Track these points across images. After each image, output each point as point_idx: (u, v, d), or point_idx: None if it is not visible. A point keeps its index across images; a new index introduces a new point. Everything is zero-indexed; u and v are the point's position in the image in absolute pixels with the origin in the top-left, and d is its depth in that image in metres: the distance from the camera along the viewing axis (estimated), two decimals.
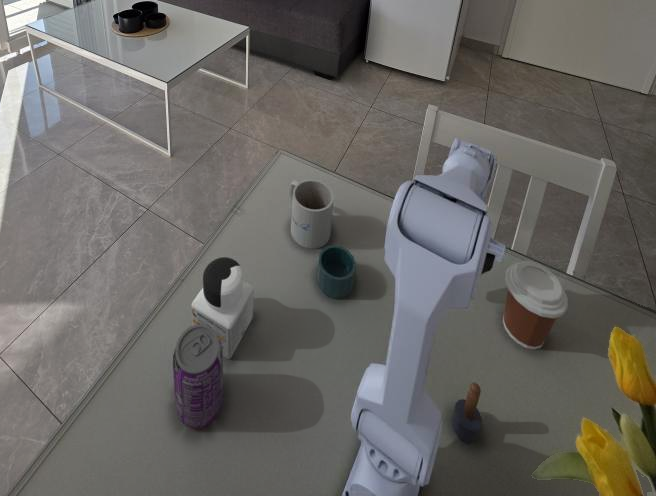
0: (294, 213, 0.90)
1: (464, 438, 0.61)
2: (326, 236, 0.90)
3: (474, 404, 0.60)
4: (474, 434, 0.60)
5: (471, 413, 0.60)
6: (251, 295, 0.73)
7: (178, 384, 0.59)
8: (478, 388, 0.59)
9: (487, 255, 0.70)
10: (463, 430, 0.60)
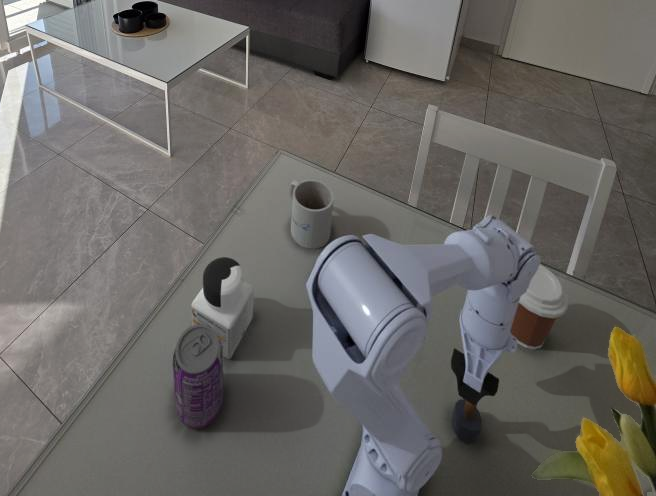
0: (294, 213, 0.90)
1: (464, 438, 0.61)
2: (326, 236, 0.90)
3: None
4: (474, 434, 0.60)
5: (471, 413, 0.60)
6: (251, 295, 0.73)
7: (178, 384, 0.59)
8: None
9: None
10: (463, 430, 0.60)
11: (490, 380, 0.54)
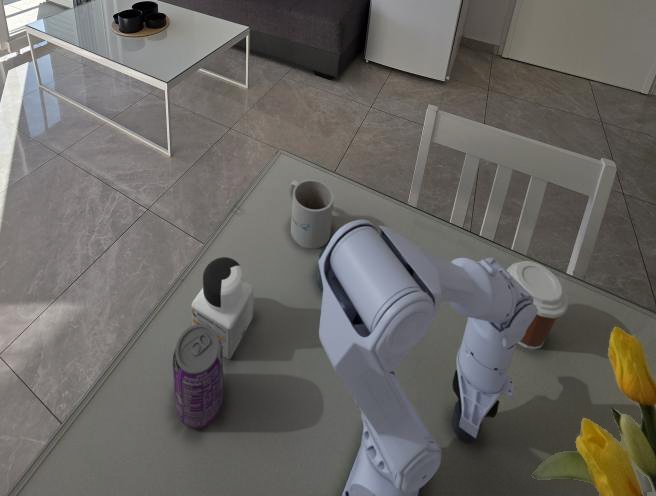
0: (294, 213, 0.90)
1: (464, 438, 0.61)
2: (326, 236, 0.90)
3: None
4: None
5: None
6: (251, 295, 0.73)
7: (178, 384, 0.59)
8: None
9: None
10: (463, 430, 0.60)
11: None
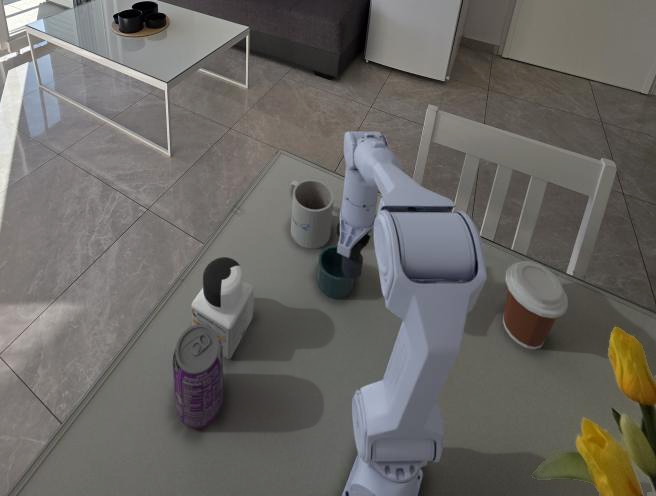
0: (294, 213, 0.90)
1: (349, 275, 0.76)
2: (326, 236, 0.90)
3: None
4: (357, 269, 0.76)
5: None
6: (251, 295, 0.73)
7: (178, 384, 0.59)
8: None
9: None
10: (348, 268, 0.76)
11: (363, 237, 0.72)
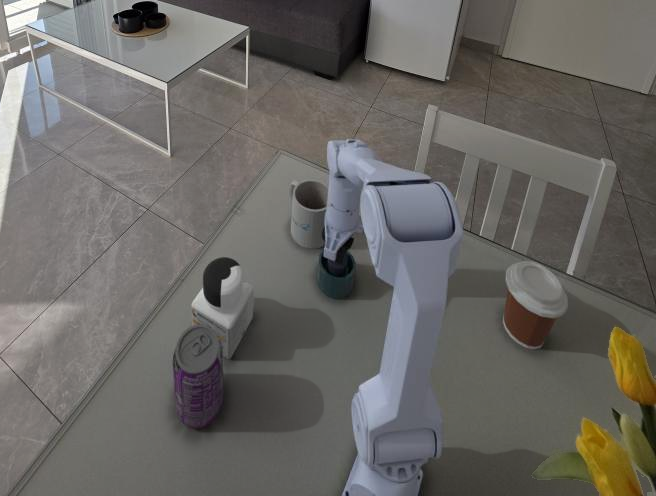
0: (294, 213, 0.90)
1: (334, 276, 0.80)
2: None
3: None
4: (341, 271, 0.80)
5: None
6: (251, 295, 0.73)
7: (178, 384, 0.59)
8: None
9: None
10: (333, 270, 0.80)
11: (347, 240, 0.76)
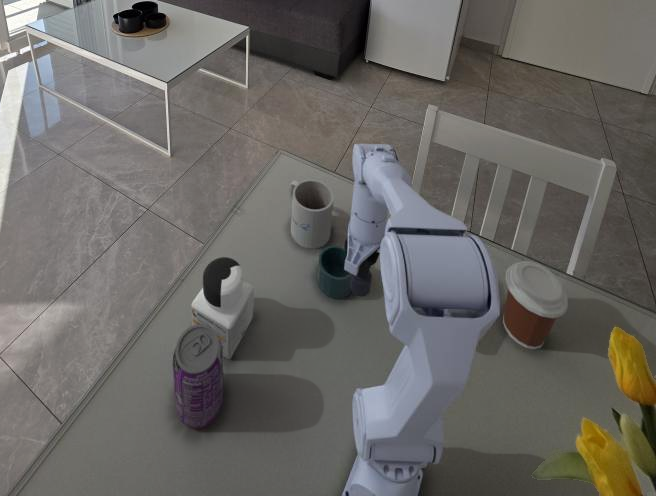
0: (294, 213, 0.90)
1: (357, 292, 0.74)
2: (326, 236, 0.90)
3: None
4: (365, 287, 0.73)
5: None
6: (251, 295, 0.73)
7: (178, 384, 0.59)
8: None
9: None
10: (356, 285, 0.73)
11: (372, 254, 0.70)
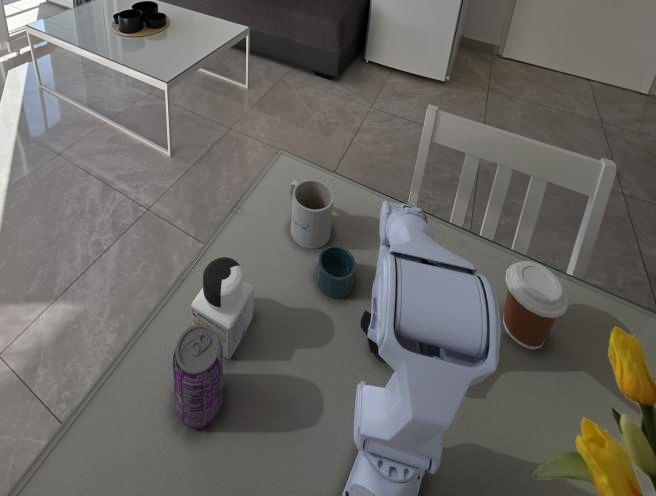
0: (294, 213, 0.90)
1: None
2: (326, 236, 0.90)
3: None
4: None
5: None
6: (251, 295, 0.73)
7: (178, 384, 0.59)
8: None
9: None
10: None
11: None
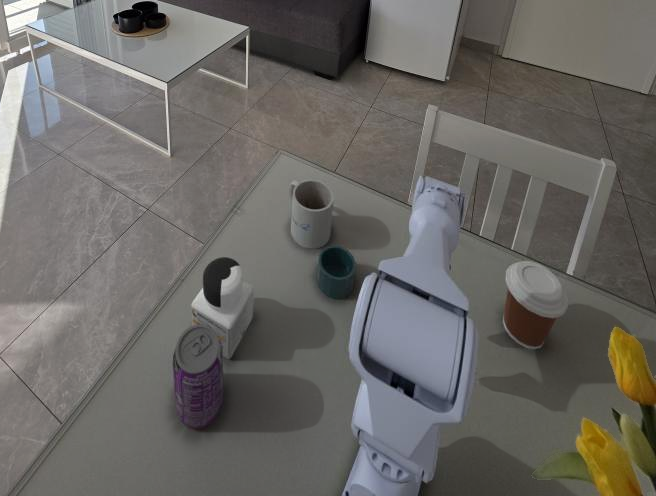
0: (294, 213, 0.90)
1: None
2: (326, 236, 0.90)
3: None
4: None
5: None
6: (251, 295, 0.73)
7: (178, 384, 0.59)
8: None
9: None
10: None
11: None
